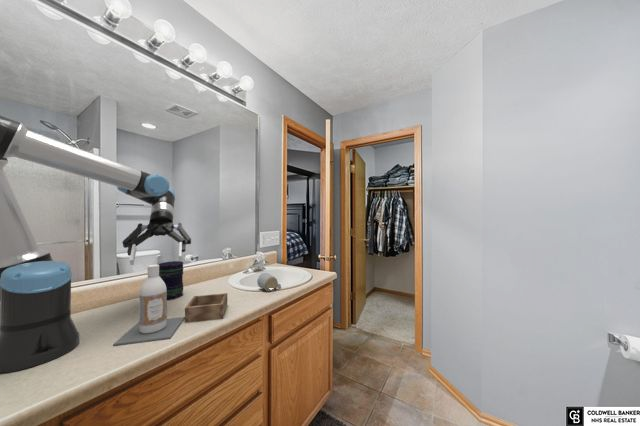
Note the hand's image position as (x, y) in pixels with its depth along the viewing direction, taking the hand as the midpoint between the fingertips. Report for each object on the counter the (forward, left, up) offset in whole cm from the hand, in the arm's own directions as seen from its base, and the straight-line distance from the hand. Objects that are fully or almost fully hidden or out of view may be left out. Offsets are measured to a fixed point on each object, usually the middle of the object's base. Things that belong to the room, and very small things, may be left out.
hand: (156, 260), depth 78 cm
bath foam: (+1, -6, -21) cm, 22 cm away
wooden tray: (+15, +3, -21) cm, 26 cm away
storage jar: (-5, +27, -21) cm, 34 cm away
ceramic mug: (+39, +25, -21) cm, 51 cm away
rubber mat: (+1, -6, -21) cm, 22 cm away
